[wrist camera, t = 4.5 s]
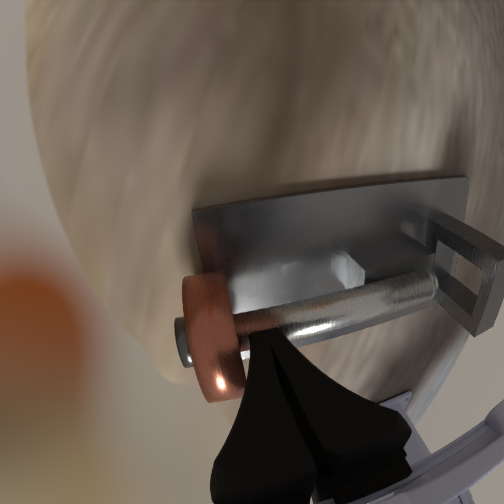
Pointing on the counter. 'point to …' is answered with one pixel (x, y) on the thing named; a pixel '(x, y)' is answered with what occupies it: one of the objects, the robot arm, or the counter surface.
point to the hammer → (275, 322)
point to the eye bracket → (352, 248)
